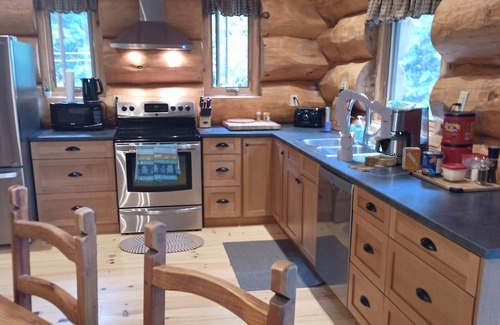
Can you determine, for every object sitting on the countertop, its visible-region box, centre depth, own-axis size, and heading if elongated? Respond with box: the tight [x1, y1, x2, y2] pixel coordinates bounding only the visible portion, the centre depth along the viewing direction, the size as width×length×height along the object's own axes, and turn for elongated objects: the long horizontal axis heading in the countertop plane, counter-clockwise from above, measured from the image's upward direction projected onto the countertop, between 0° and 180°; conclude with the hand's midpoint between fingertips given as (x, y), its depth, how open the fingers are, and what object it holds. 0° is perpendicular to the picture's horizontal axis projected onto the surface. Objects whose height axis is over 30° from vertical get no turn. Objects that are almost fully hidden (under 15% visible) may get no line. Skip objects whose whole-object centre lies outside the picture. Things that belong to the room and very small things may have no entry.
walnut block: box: [364, 155, 375, 167], centre depth 257 cm, size 4×4×6 cm
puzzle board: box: [347, 154, 397, 173], centre depth 258 cm, size 13×25×5 cm, turn 121°
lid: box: [378, 152, 398, 158], centre depth 264 cm, size 8×7×3 cm
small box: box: [401, 146, 421, 173], centre depth 249 cm, size 8×6×13 cm
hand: (384, 151), depth 262 cm, fingers closed
